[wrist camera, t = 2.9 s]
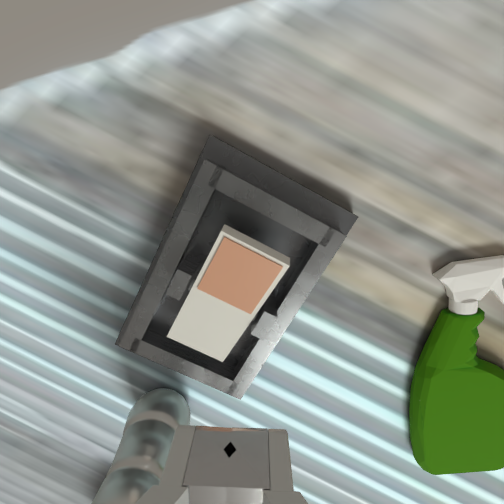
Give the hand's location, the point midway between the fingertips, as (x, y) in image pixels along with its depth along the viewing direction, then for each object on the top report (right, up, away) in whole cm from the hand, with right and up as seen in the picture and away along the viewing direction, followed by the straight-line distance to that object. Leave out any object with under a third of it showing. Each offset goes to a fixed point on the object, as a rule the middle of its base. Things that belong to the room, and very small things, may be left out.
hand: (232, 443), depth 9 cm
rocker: (-2, +1, +17) cm, 17 cm away
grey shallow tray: (-2, +3, +21) cm, 21 cm away
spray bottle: (+22, -7, +24) cm, 34 cm away
